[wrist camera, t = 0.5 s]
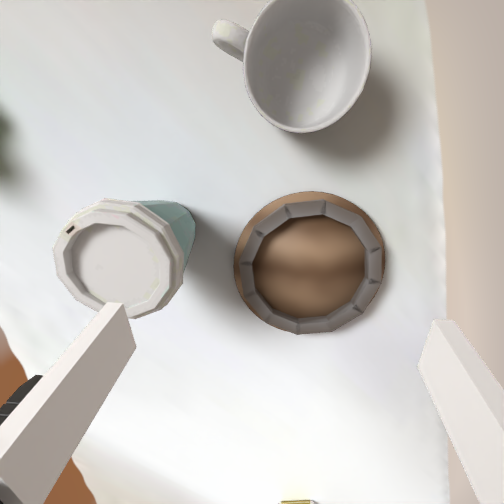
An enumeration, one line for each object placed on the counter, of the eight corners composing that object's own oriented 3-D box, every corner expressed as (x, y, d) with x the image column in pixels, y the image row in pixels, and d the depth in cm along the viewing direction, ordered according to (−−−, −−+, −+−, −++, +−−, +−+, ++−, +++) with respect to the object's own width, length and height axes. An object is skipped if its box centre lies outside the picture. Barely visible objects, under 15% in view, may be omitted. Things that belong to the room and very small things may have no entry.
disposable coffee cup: (228, 235, 37) (206, 282, 23) (166, 282, 40) (112, 351, 25) (171, 166, 35) (108, 172, 21) (109, 221, 37) (15, 259, 23)
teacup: (366, 65, 31) (400, 34, 24) (308, 156, 34) (321, 156, 27) (255, -17, 29) (252, -78, 22) (203, 87, 32) (185, 65, 25)
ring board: (224, 201, 36) (221, 204, 34) (382, 182, 35) (391, 183, 32) (244, 335, 42) (243, 345, 39) (381, 323, 40) (389, 333, 38)
